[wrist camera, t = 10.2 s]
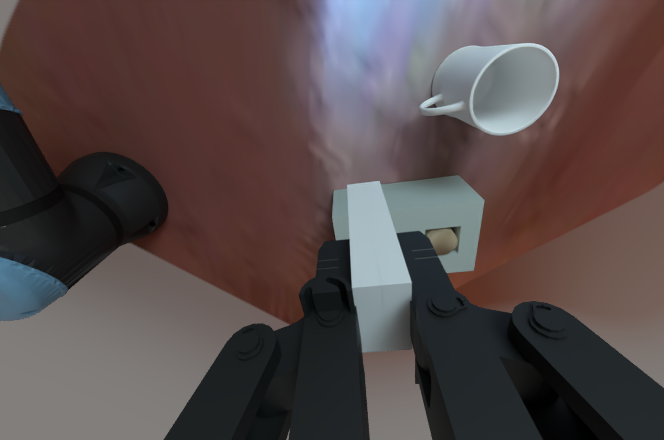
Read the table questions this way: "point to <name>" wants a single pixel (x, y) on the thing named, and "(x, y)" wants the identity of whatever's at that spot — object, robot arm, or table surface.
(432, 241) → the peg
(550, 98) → the mug
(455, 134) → the table surface
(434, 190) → the socket block
